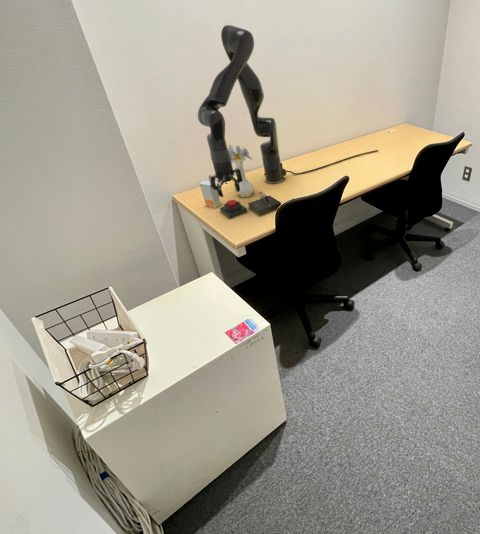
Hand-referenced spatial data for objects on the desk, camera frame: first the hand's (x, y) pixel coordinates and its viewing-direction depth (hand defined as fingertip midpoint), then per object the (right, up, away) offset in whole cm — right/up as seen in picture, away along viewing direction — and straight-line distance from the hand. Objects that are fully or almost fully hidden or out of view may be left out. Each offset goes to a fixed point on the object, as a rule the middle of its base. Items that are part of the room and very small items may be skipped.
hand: (229, 193), depth 150 cm
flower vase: (0, +4, +21) cm, 21 cm away
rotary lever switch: (+14, -5, +10) cm, 17 cm away
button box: (0, -7, +6) cm, 10 cm away
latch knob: (+14, -3, +8) cm, 16 cm away
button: (0, -5, +4) cm, 6 cm away
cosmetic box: (-12, -3, +11) cm, 17 cm away
